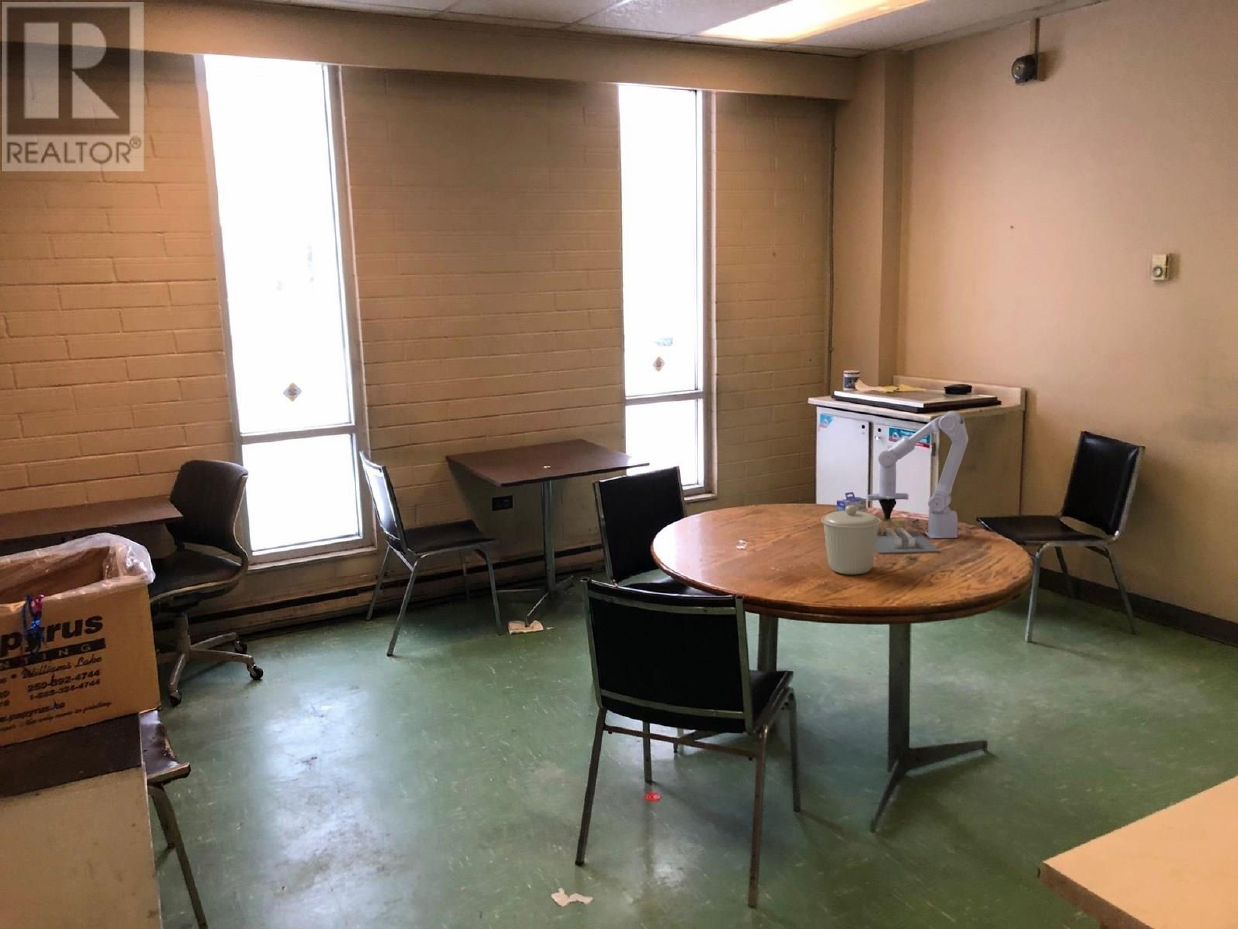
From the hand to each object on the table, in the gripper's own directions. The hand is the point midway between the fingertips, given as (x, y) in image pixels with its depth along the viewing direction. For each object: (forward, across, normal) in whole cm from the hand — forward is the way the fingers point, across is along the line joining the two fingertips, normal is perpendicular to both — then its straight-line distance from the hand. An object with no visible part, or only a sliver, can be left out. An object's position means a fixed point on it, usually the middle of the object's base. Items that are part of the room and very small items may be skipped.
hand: (887, 519), depth 352 cm
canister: (+4, -25, -45) cm, 52 cm away
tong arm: (+4, -3, -17) cm, 17 cm away
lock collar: (+4, 0, -7) cm, 8 cm away
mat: (+4, -1, -16) cm, 17 cm away
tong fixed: (+4, +1, -17) cm, 17 cm away
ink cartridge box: (+4, -13, 0) cm, 14 cm away
